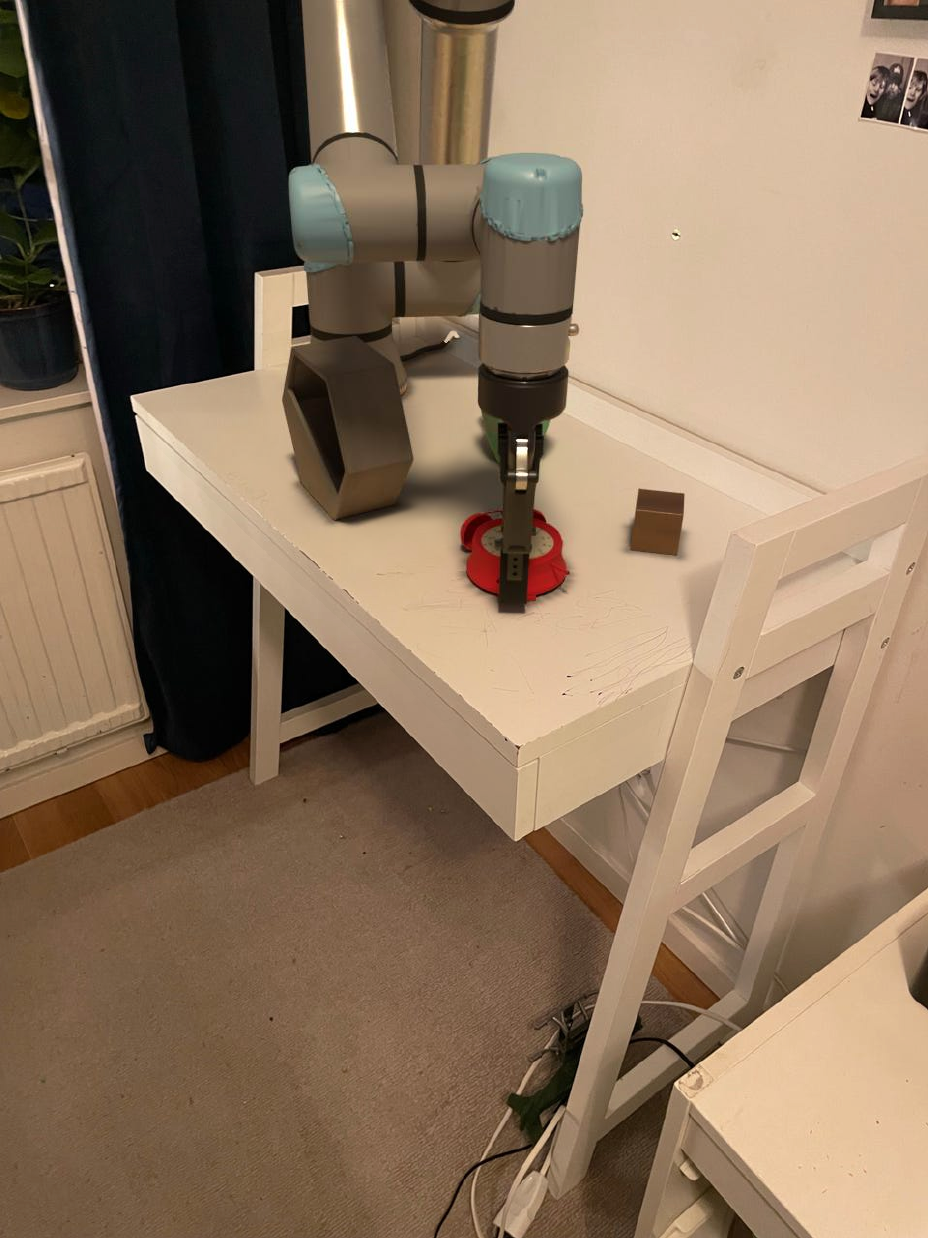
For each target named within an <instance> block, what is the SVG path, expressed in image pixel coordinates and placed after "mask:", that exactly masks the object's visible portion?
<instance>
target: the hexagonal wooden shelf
mask: <svg viewBox="0 0 928 1238" xmlns="http://www.w3.org/2000/svg"><path fill="white" fill-rule="evenodd" d="M289 352H290V353H289V358H288V364H287V369H286V375H285V381H284V386H283V393H282V398H281V402H282V406H283V411H284V415H285V419H286V424H287V428H288V433H289V436H290V441H291V446H292V449H293V454H294V458H295V462H296V467H297V472H298V475H299V480H300V484H301V485H302V486H303V487H304V489H305V490H306V491H307V492H308V493H309V494H310V495H311V496H312V497H313V499H314V500H315V501H316V502H317V503H318V504H319V505H320V506H321V508H323V510H324V511H325V512H326V513H327V514H328V515H329V516H330V518H332V520H334V521H335V520H339V519H344V518H348V517H352V516H355V515H360V514H363V513H367V512H371V511H375V510H379V509H383V508H387V507H391V506H394V505H395V504H396V503H397V500H398V498H399V495H400V493H401V491H402V488H403V487H404V484H405V481H406V479H407V477H408V475H409V471H410V469H411V467H412V465H413V462H414V454H413V449H412V444H411V439H410V434H409V433H410V432H409V429H408V425H407V419H406V415H405V414H406V413H405V409H404V405H403V399H402V395H401V394H400V389H399V384H398V379H397V374H396V369H395V365H394V363H393V362H391V361H390V360H388V359H387V358H386V357H384V356H383V355H381V354H380V353H379V352H377V351H376V350H374V349H373V348H372V347H370V346H369V345H368V344H366V343H365V342H363V341H362V340H361V339H359V338H358V337H356V336H351V337H345V338H339V339H334V340H328V341H322V342H316V343H310V342H309V343H305V344H298V345H293V346H291V348H290V351H289Z"/></svg>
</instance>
